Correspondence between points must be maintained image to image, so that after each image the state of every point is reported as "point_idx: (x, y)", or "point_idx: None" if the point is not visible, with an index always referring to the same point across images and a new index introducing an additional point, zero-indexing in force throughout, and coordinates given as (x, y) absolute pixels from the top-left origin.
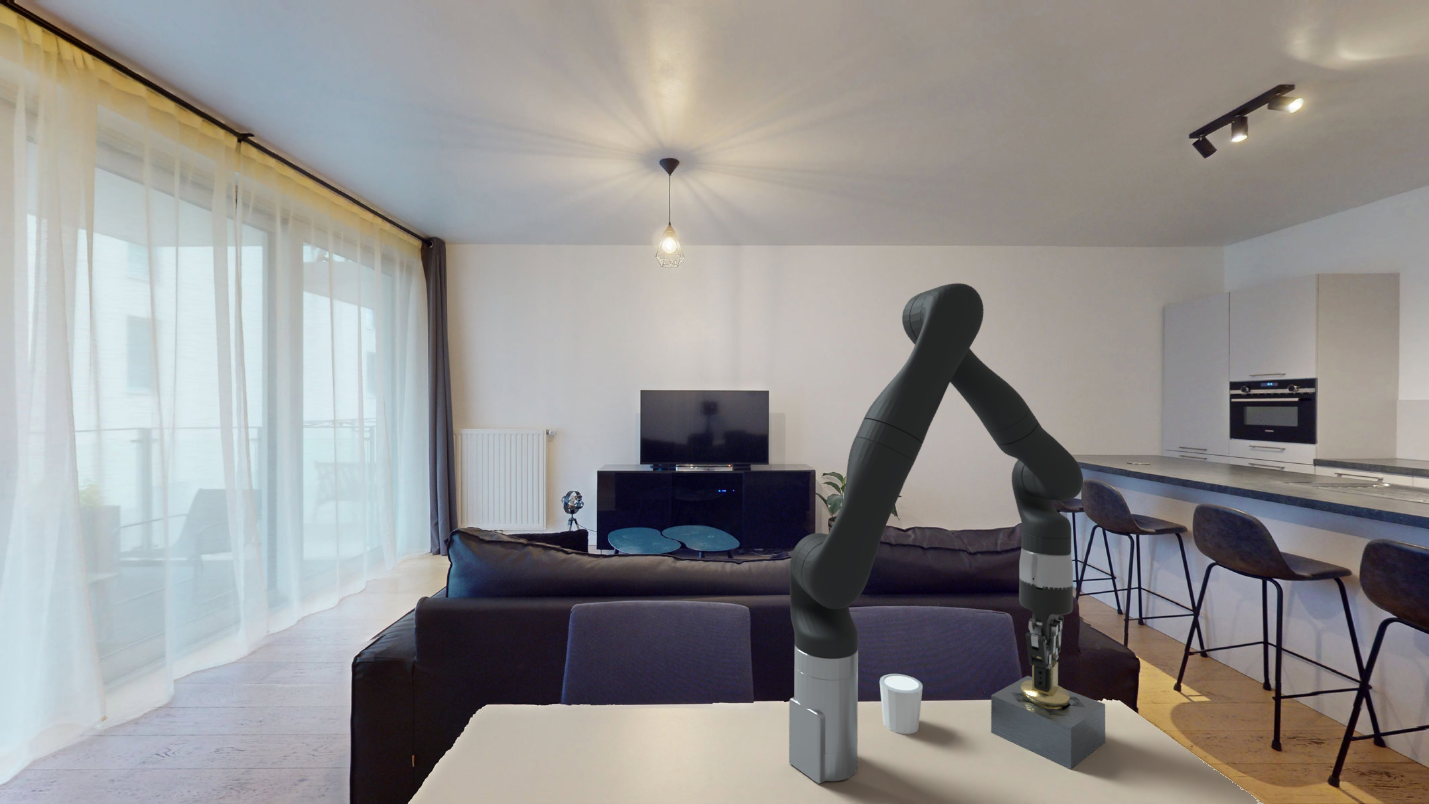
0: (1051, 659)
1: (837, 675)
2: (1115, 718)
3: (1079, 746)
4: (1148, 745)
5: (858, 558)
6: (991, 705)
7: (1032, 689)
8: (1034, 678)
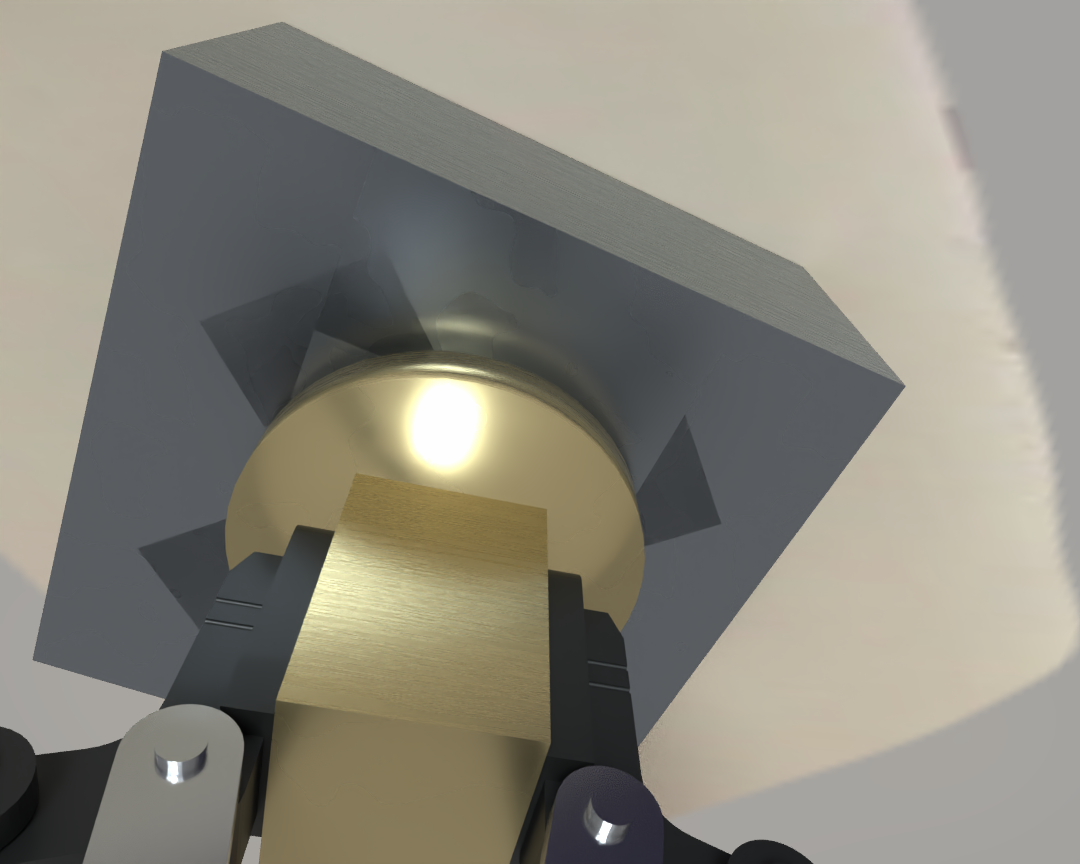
0: (523, 860)
1: None
2: (886, 687)
3: None
4: (644, 770)
5: None
6: (203, 43)
7: (354, 480)
8: (276, 584)
